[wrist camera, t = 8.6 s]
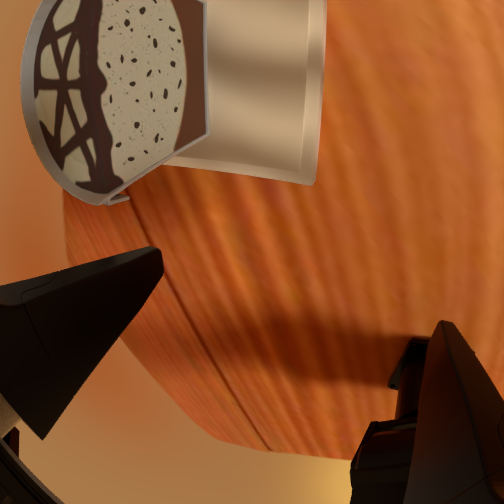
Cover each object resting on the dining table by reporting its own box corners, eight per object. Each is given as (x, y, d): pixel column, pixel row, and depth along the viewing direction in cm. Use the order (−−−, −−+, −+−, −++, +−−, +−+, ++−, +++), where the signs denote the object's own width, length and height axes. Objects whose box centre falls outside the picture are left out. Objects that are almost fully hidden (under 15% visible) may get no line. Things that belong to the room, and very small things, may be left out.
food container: (134, 1, 16) (15, -2, 8) (207, -18, 14) (83, -52, 6) (142, 153, 23) (35, 203, 15) (210, 157, 21) (99, 217, 13)
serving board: (318, 176, 21) (311, 186, 19) (134, 154, 26) (117, 161, 24) (329, -48, 12) (322, -60, 11) (130, -18, 17) (112, -20, 16)
